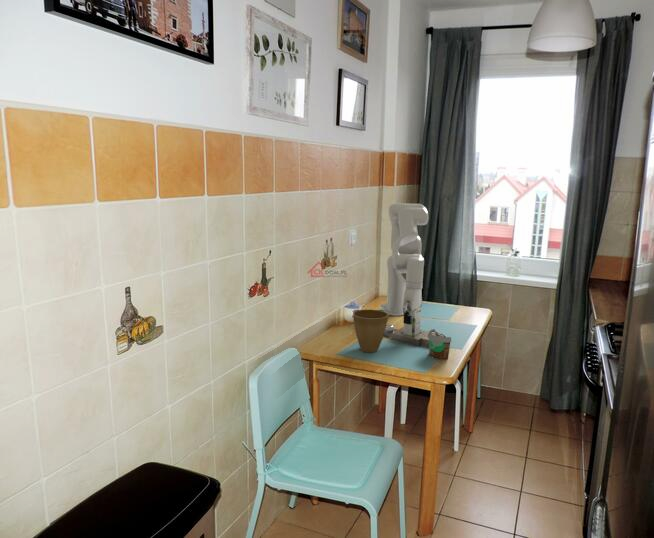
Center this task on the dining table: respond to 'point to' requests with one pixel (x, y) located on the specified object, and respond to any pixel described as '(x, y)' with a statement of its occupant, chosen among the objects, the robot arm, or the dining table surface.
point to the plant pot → (370, 328)
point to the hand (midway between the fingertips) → (411, 321)
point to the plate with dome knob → (390, 330)
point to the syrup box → (413, 323)
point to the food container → (438, 345)
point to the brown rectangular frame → (419, 338)
